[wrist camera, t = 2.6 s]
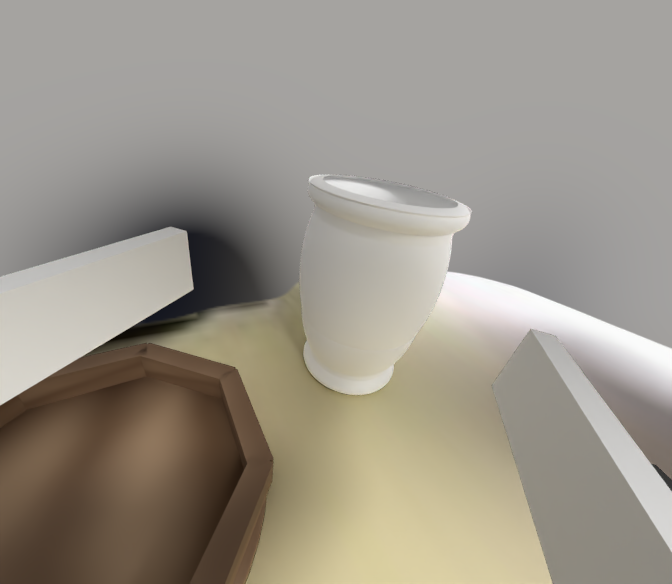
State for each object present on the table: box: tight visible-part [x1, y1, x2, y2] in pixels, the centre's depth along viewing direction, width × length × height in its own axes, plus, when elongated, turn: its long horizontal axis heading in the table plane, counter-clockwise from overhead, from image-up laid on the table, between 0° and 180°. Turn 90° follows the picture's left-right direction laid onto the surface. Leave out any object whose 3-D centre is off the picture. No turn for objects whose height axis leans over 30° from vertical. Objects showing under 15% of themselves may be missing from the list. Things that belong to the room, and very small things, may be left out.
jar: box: [299, 175, 472, 395], centre depth 21 cm, size 11×10×15 cm
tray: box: [0, 343, 273, 584], centre depth 12 cm, size 17×17×3 cm
